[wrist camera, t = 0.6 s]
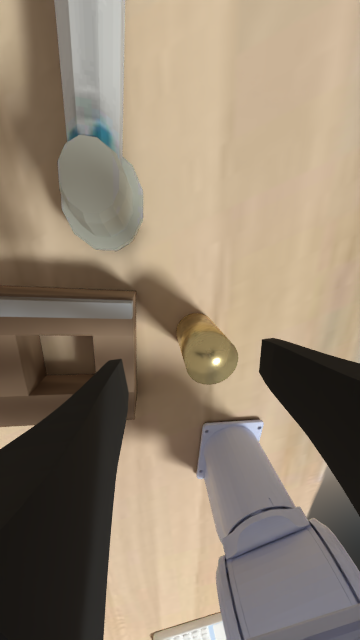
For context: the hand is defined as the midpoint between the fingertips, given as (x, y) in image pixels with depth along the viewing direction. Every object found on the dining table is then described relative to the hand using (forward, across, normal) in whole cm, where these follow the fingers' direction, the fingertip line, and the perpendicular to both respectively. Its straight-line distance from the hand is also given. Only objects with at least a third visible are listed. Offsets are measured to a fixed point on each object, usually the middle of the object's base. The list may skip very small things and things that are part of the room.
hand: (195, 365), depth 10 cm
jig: (+10, +10, +3) cm, 14 cm away
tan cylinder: (+10, -2, +3) cm, 10 cm away
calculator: (+9, 0, +77) cm, 77 cm away
